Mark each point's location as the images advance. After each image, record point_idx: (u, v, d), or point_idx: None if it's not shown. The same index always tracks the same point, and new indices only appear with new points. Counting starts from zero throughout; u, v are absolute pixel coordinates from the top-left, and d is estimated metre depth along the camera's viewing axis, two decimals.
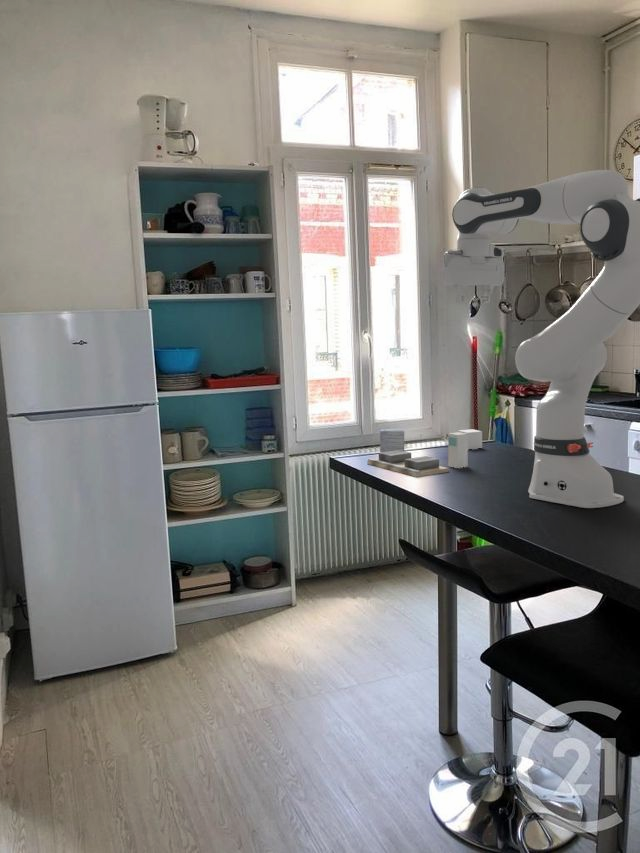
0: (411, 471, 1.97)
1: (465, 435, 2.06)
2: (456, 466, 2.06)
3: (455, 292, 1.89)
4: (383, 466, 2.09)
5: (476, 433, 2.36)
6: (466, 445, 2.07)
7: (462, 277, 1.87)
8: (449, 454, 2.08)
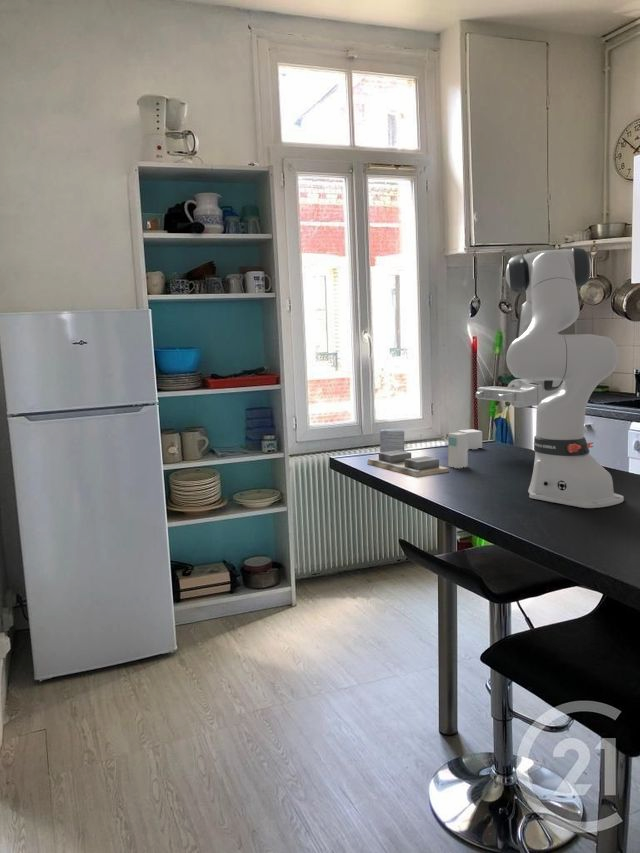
0: (411, 471, 1.97)
1: (465, 435, 2.06)
2: (456, 466, 2.06)
3: None
4: (383, 466, 2.09)
5: (476, 433, 2.36)
6: (466, 445, 2.07)
7: None
8: (449, 454, 2.08)
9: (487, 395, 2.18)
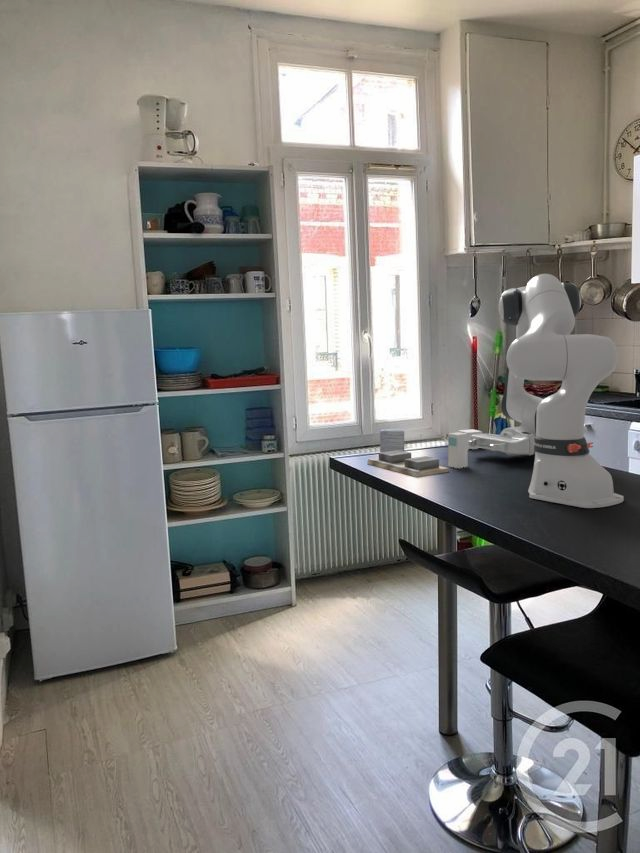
0: (411, 471, 1.97)
1: (465, 435, 2.06)
2: (456, 466, 2.06)
3: None
4: (383, 466, 2.09)
5: (476, 433, 2.37)
6: (466, 445, 2.07)
7: (482, 435, 2.20)
8: (449, 454, 2.08)
9: (479, 443, 2.19)
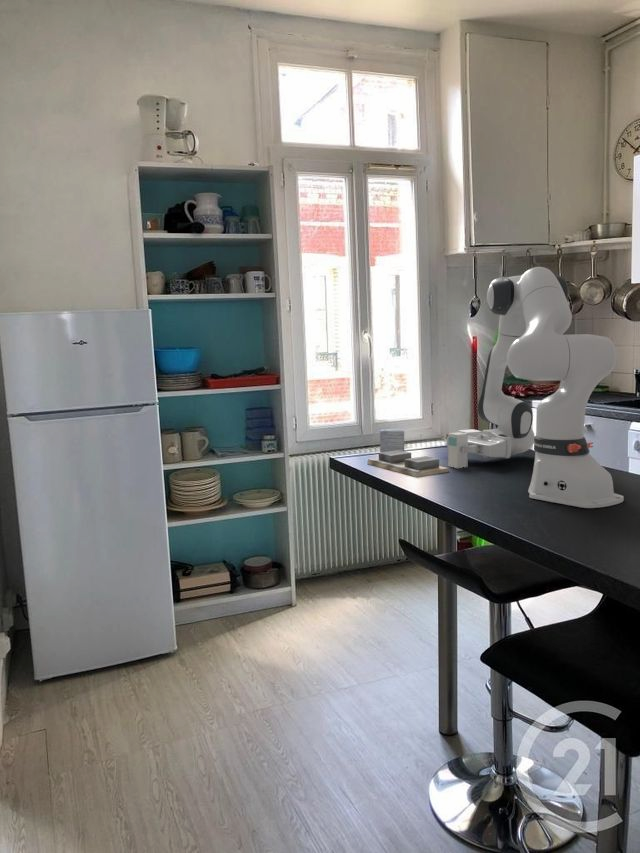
0: (411, 471, 1.97)
1: (465, 435, 2.06)
2: (456, 466, 2.06)
3: None
4: (383, 466, 2.09)
5: (476, 433, 2.37)
6: (466, 445, 2.07)
7: None
8: (449, 454, 2.08)
9: None
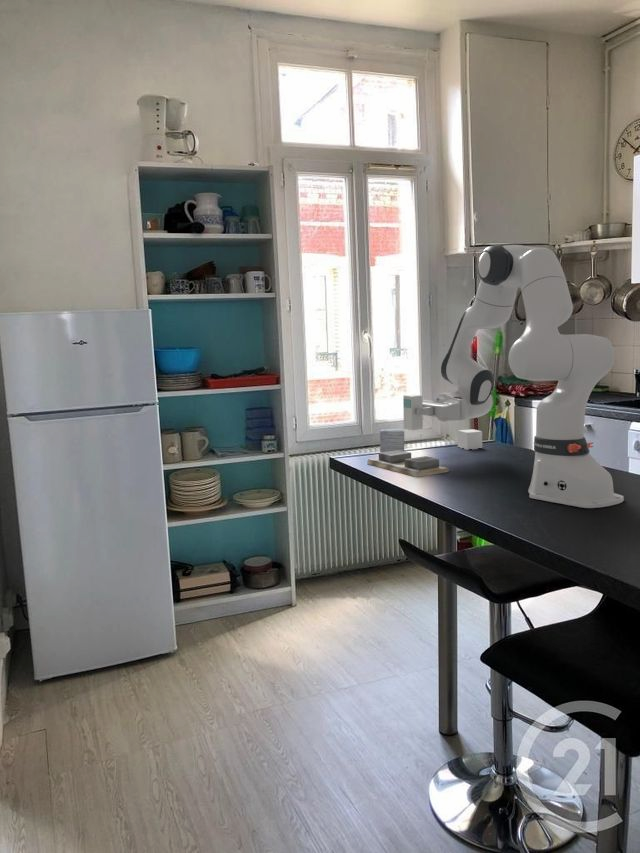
0: (411, 471, 1.97)
1: (420, 397, 2.05)
2: (411, 428, 2.05)
3: None
4: (383, 466, 2.09)
5: (476, 433, 2.37)
6: (421, 407, 2.06)
7: None
8: (404, 416, 2.08)
9: None
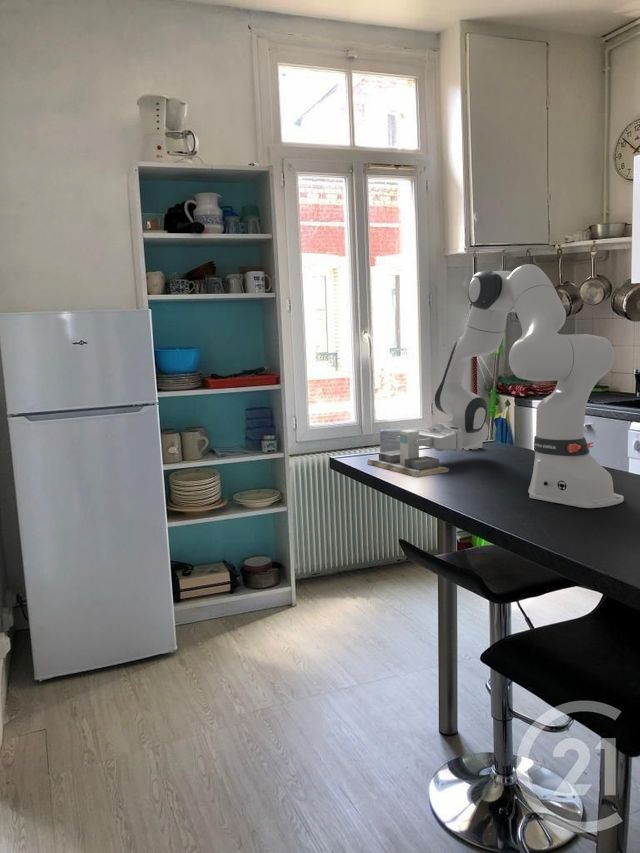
0: (411, 471, 1.97)
1: (416, 432, 2.07)
2: None
3: None
4: (383, 466, 2.09)
5: None
6: None
7: None
8: (401, 451, 2.09)
9: None
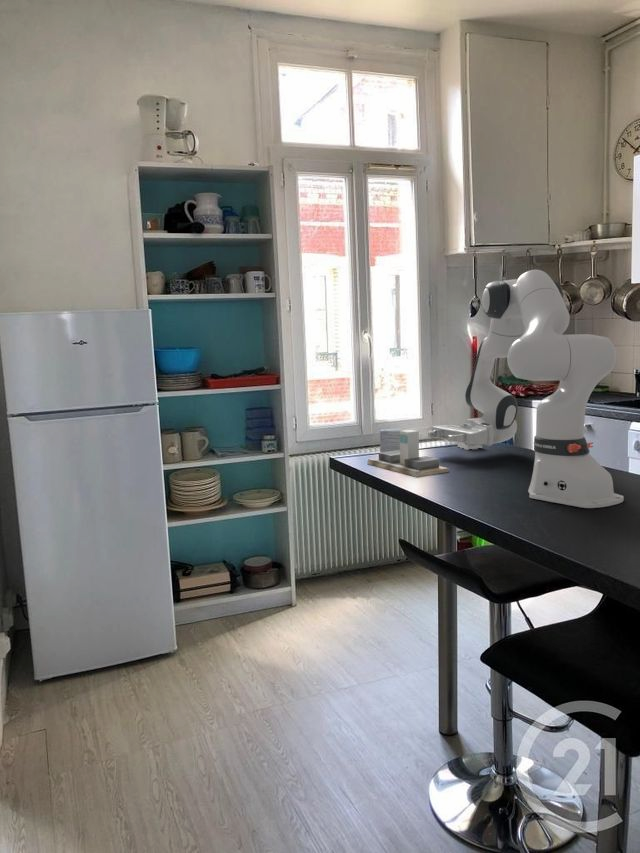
0: (411, 471, 1.97)
1: (416, 432, 2.07)
2: None
3: None
4: (383, 466, 2.09)
5: None
6: (417, 442, 2.07)
7: (443, 427, 2.22)
8: (401, 451, 2.09)
9: (440, 434, 2.21)
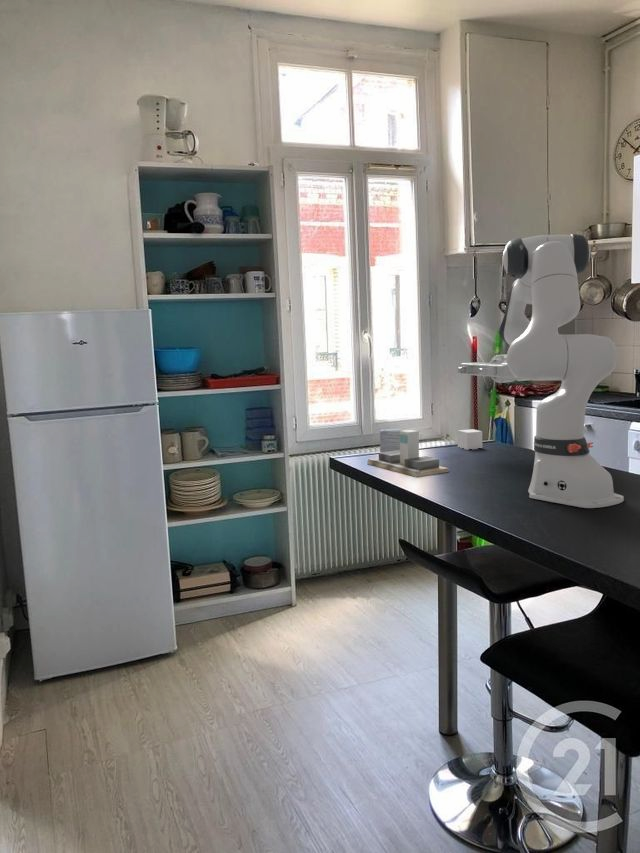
0: (411, 471, 1.97)
1: (416, 432, 2.07)
2: None
3: None
4: (383, 466, 2.09)
5: (476, 433, 2.37)
6: (417, 442, 2.07)
7: (472, 363, 2.20)
8: (401, 451, 2.09)
9: (469, 370, 2.19)
